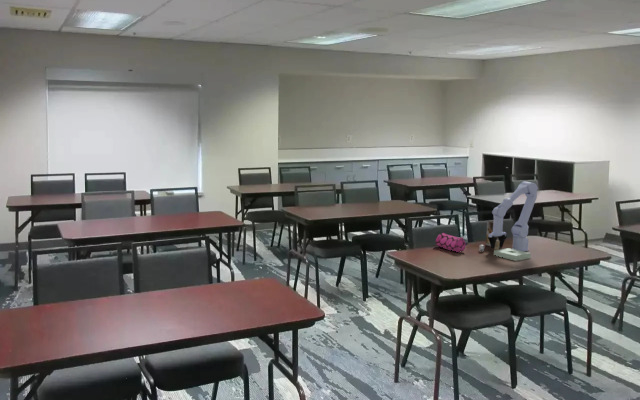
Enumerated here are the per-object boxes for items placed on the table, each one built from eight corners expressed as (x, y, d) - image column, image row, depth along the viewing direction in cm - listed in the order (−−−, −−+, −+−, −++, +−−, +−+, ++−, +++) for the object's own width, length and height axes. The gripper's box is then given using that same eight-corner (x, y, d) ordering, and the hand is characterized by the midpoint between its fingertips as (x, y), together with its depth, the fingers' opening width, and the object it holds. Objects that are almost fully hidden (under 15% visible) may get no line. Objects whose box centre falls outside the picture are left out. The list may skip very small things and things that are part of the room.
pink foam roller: (467, 252, 354) (468, 236, 353) (456, 254, 349) (456, 238, 348) (444, 245, 372) (445, 230, 371) (433, 247, 368) (433, 232, 366)
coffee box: (502, 247, 370) (503, 222, 368) (494, 247, 368) (496, 223, 365) (492, 244, 379) (494, 220, 376) (485, 245, 376) (486, 221, 374)
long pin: (496, 250, 359) (496, 240, 358) (500, 251, 356) (500, 240, 355) (493, 251, 357) (493, 240, 356) (496, 252, 355) (497, 241, 354)
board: (508, 252, 354) (508, 248, 353) (530, 258, 341) (530, 253, 340) (493, 255, 346) (493, 250, 346) (515, 260, 333) (515, 255, 333)
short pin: (481, 250, 358) (481, 244, 358) (485, 251, 356) (485, 245, 355) (478, 251, 357) (478, 245, 356) (481, 252, 354) (482, 246, 354)
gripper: (500, 224, 362) (499, 245, 364) (485, 226, 354) (483, 247, 356) (509, 226, 356) (508, 247, 358) (494, 228, 348) (492, 249, 350)
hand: (496, 247), depth 356 cm, fingers open, 7 cm apart
